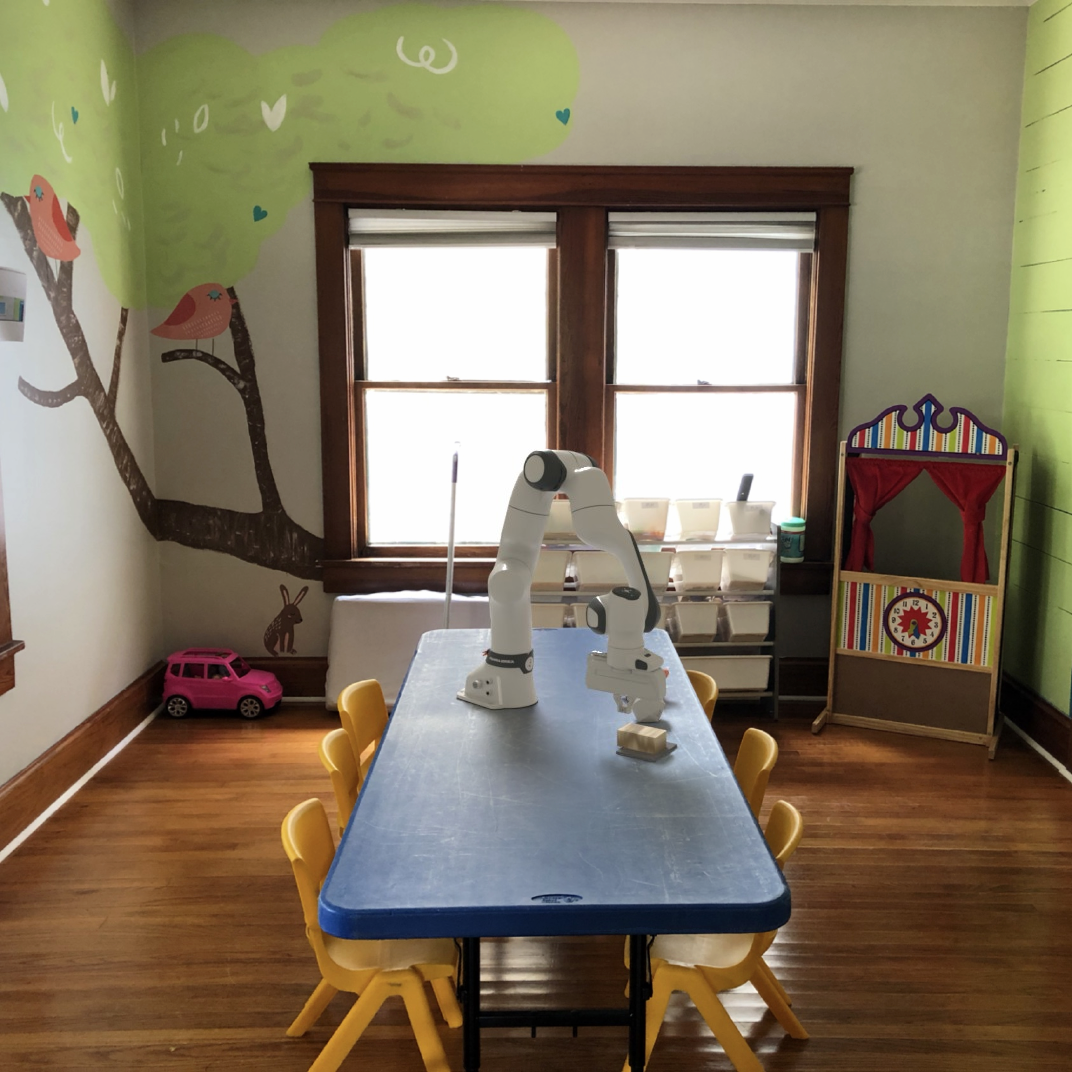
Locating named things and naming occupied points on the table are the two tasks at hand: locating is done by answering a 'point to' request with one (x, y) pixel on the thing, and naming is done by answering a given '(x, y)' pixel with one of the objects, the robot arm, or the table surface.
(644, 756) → the rubber mat
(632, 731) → the maple block
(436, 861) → the table surface
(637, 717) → the die
